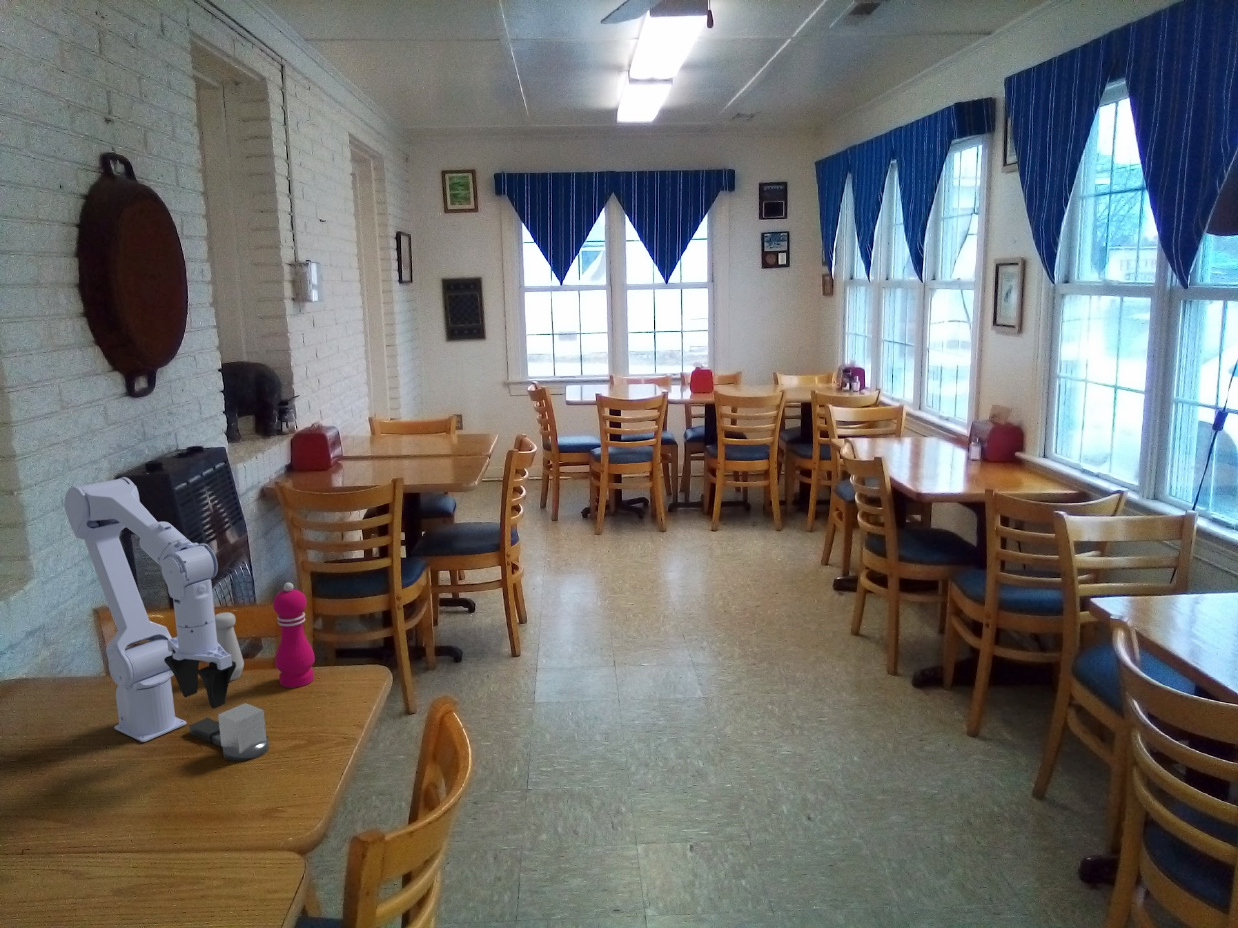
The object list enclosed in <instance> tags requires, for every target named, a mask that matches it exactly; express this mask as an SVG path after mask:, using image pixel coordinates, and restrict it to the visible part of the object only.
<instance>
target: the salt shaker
mask: <svg viewBox="0 0 1238 928" xmlns="http://www.w3.org/2000/svg"><path fill="white" fill-rule="evenodd" d="M236 622H237V621H236V616H235V614H234V613H232V612H219V613H217V614H215V623H216V634H217V642H218V643H219V644H220V645H221V647H222V648H223V649H224V650H225V651H226V652H227V653H228V654H231V659H232V661H234V662H236V668H235V670H234V672H233V674H232V676H231V678H230V681H229V682H231V681H236V680H238V679H239V678H240V677H241V676H242V673H243V670H244V666H245V662H244V658H243V654H242V652H241V651H242V650H241V649H240V645H239V641H238V637H237V635H236V631H235V628H234V626H235V625H236Z"/></svg>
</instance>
